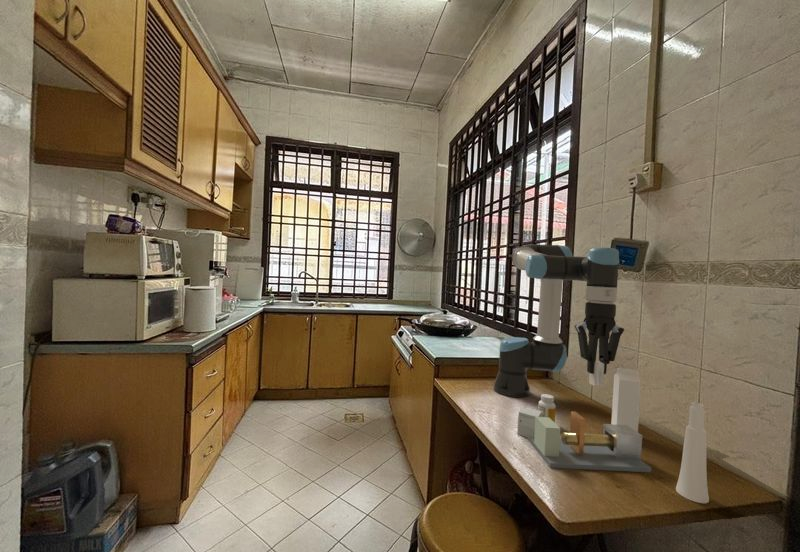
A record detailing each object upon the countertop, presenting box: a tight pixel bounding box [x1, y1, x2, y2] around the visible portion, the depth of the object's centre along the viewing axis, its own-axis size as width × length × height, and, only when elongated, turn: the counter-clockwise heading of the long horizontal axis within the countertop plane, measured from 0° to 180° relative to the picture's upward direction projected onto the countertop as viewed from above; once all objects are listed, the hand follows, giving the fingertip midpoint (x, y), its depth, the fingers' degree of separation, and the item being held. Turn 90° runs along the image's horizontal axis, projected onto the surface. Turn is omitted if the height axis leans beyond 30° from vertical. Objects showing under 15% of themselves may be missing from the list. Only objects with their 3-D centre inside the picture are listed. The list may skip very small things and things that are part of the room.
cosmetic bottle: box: [675, 401, 710, 504], centre depth 80 cm, size 6×6×22 cm
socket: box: [534, 417, 562, 457], centre depth 96 cm, size 7×4×8 cm, turn 1°
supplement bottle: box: [537, 393, 557, 424], centre depth 116 cm, size 5×5×10 cm
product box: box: [516, 406, 542, 439], centre depth 108 cm, size 6×6×7 cm
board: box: [528, 437, 652, 473], centre depth 96 cm, size 14×27×1 cm, turn 91°
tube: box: [560, 411, 614, 455], centre depth 96 cm, size 5×20×10 cm, turn 91°
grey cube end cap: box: [602, 423, 643, 460], centre depth 96 cm, size 6×7×7 cm
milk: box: [610, 367, 642, 433], centre depth 111 cm, size 6×6×22 cm
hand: (595, 384), depth 96 cm, fingers closed
